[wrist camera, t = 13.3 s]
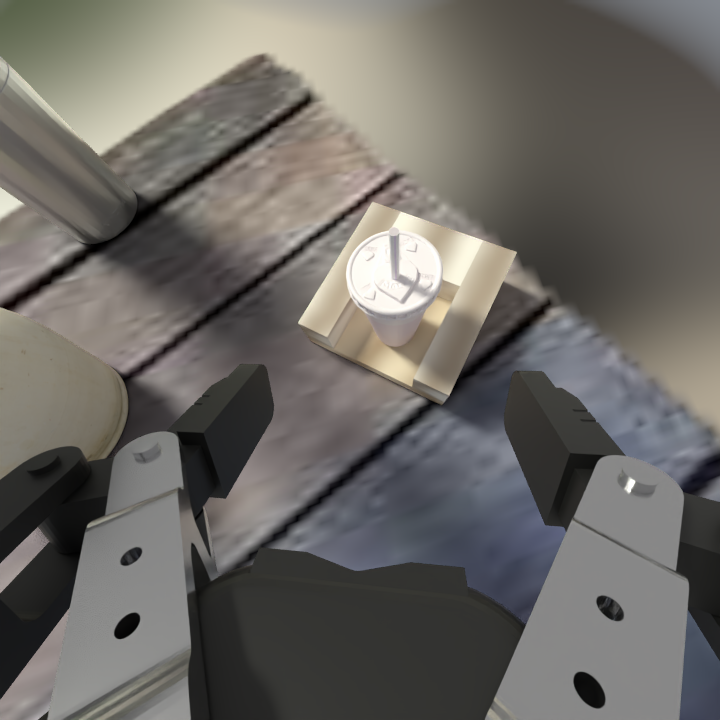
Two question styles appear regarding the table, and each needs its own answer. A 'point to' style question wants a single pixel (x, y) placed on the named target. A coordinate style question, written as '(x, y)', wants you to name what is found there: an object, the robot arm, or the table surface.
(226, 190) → the table surface
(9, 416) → the jug
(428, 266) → the white cup with straw
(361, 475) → the table surface
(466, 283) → the notched board
